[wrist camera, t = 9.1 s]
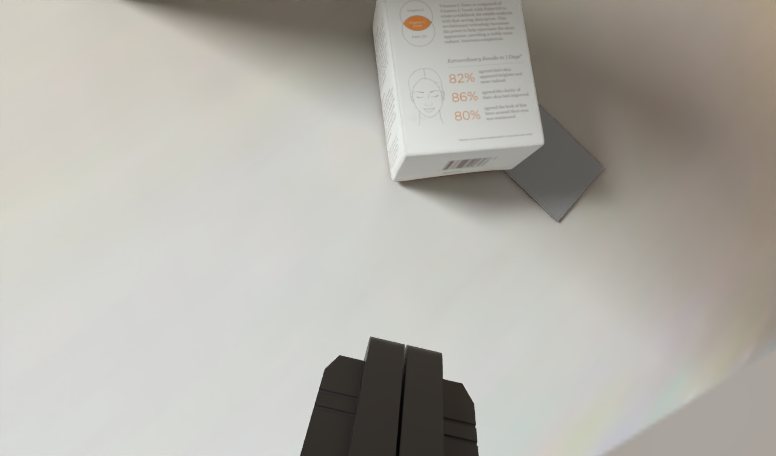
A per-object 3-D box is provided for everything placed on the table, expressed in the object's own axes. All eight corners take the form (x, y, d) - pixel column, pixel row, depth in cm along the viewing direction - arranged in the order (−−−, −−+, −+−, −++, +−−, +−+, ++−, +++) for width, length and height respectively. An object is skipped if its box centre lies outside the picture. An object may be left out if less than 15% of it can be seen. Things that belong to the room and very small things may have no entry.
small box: (513, 172, 36) (490, 18, 38) (547, 145, 31) (518, -33, 32) (388, 182, 35) (370, 24, 37) (401, 156, 30) (379, -28, 31)
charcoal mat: (433, 103, 37) (434, 102, 36) (483, 52, 38) (484, 51, 37) (556, 221, 37) (558, 221, 37) (602, 168, 38) (604, 167, 38)
